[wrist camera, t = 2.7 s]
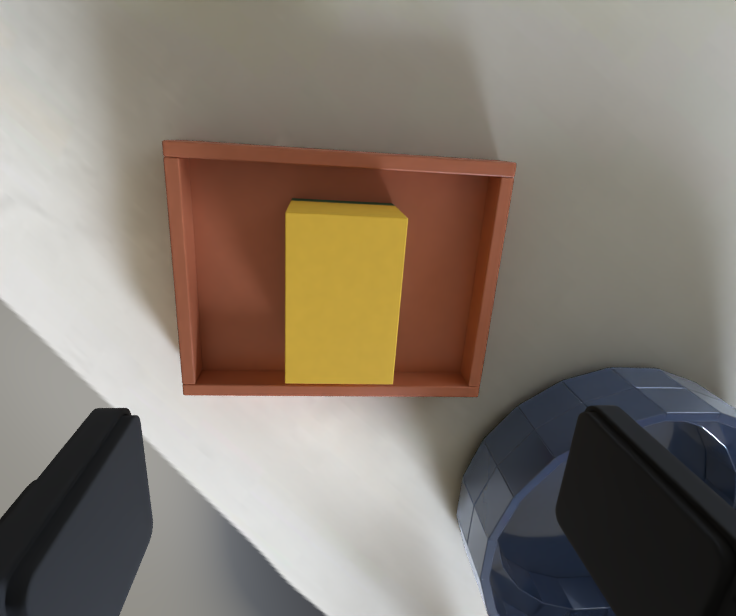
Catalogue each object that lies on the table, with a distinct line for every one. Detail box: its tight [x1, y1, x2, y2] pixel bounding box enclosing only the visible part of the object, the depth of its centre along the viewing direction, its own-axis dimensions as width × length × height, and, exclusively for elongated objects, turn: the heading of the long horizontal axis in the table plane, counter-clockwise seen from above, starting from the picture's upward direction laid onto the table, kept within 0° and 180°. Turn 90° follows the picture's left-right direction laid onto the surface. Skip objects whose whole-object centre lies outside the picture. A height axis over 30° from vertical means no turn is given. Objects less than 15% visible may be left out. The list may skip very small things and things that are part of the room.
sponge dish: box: [162, 140, 516, 397], centre depth 21 cm, size 11×14×2 cm
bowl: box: [457, 367, 736, 616], centre depth 26 cm, size 17×17×5 cm
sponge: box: [285, 198, 408, 384], centre depth 20 cm, size 7×4×4 cm, turn 176°
